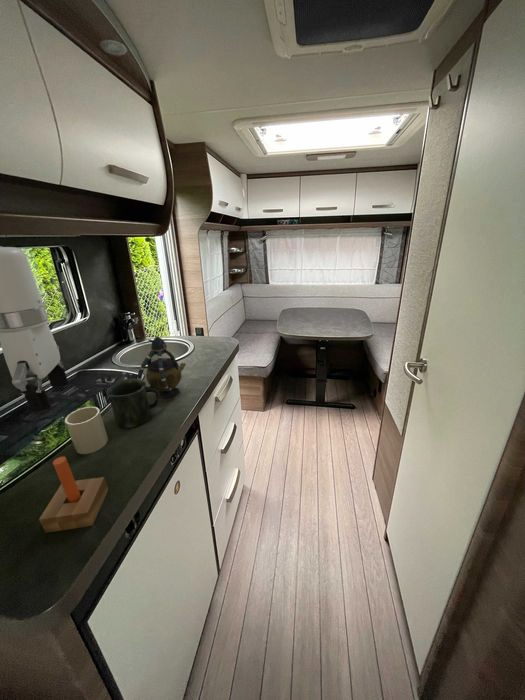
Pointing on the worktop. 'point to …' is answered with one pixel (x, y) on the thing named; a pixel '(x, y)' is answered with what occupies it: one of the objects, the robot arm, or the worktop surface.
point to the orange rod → (67, 479)
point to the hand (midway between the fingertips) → (51, 396)
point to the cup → (86, 430)
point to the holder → (75, 506)
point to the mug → (131, 402)
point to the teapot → (162, 371)
